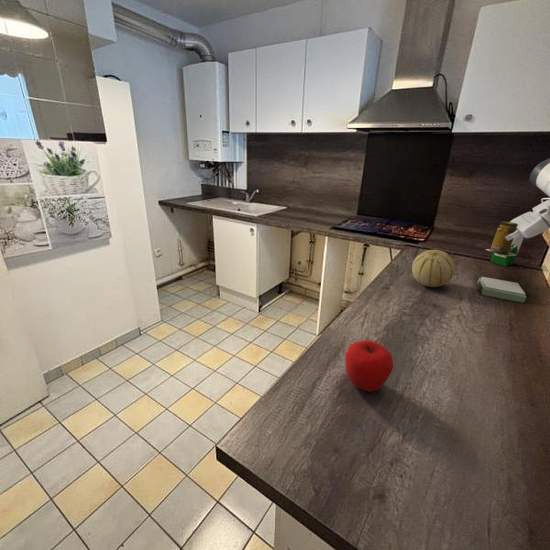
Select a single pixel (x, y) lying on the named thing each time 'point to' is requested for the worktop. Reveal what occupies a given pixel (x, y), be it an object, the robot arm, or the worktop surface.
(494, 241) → the condiment
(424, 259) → the cantaloupe
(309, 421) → the worktop surface
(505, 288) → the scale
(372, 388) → the apple
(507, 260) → the milk carton
